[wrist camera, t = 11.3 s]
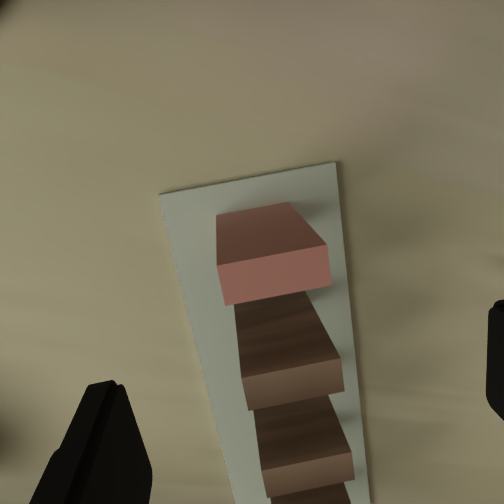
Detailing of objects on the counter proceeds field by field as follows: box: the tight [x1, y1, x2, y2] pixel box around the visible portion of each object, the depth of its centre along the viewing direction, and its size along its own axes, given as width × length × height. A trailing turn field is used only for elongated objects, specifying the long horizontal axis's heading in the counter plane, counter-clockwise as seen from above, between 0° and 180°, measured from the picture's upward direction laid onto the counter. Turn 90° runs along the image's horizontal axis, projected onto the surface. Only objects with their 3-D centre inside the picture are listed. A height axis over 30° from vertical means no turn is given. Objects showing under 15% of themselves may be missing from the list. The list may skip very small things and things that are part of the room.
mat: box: [158, 162, 370, 504], centre depth 32 cm, size 32×12×1 cm, turn 10°
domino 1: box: [216, 202, 332, 306], centre depth 23 cm, size 2×5×10 cm, turn 100°
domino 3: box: [253, 395, 355, 498], centre depth 27 cm, size 2×5×10 cm, turn 100°
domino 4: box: [270, 482, 351, 504], centre depth 28 cm, size 2×5×10 cm, turn 100°
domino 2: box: [234, 291, 345, 411], centre depth 25 cm, size 2×5×10 cm, turn 100°
